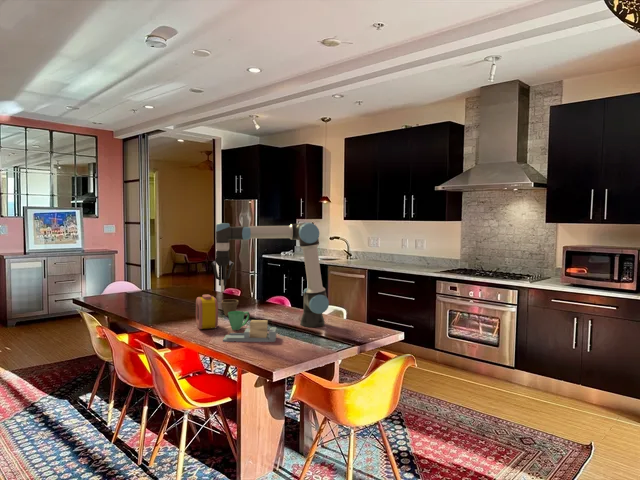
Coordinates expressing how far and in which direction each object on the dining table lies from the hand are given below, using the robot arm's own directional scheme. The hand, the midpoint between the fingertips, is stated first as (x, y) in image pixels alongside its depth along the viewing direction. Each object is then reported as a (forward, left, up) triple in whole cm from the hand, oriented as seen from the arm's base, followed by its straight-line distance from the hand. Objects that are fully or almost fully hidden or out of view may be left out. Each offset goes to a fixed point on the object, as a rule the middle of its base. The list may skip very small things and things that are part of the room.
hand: (222, 291), depth 261 cm
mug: (-12, +8, -25) cm, 29 cm away
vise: (+12, +18, -24) cm, 32 cm away
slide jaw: (+11, +16, -23) cm, 31 cm away
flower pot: (-48, -4, -25) cm, 54 cm away
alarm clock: (-14, -12, -25) cm, 31 cm away
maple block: (+12, +22, -23) cm, 34 cm away
